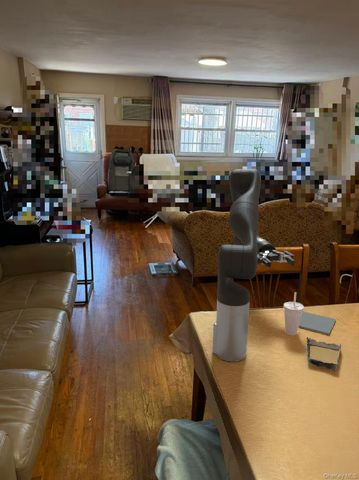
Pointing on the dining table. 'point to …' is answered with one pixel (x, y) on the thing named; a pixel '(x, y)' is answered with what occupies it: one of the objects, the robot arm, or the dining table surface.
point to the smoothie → (292, 316)
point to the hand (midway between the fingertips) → (281, 264)
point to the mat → (316, 323)
